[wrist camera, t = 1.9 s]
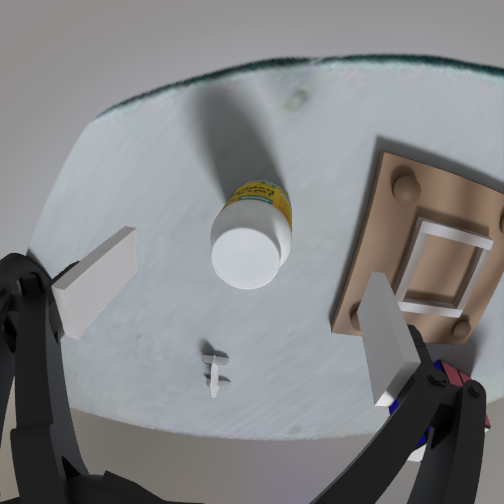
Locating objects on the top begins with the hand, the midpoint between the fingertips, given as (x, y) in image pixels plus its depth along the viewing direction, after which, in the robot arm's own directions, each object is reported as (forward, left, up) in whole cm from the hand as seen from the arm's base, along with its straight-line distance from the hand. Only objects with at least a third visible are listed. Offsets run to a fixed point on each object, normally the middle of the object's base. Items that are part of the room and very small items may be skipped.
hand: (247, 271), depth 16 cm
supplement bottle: (0, 0, -11) cm, 11 cm away
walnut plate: (+18, -2, -11) cm, 21 cm away
